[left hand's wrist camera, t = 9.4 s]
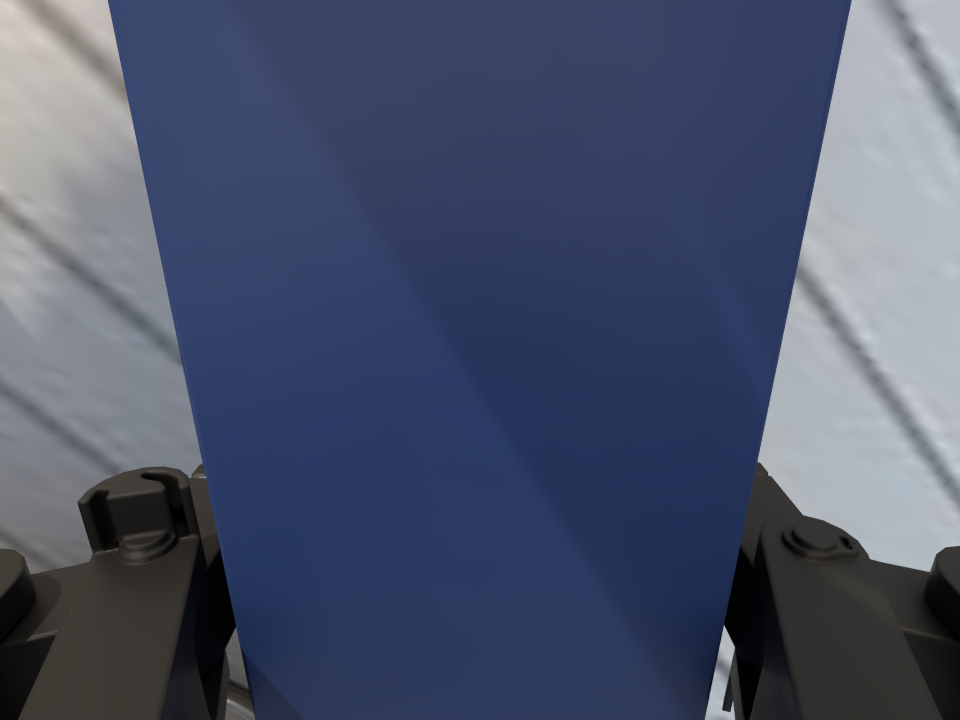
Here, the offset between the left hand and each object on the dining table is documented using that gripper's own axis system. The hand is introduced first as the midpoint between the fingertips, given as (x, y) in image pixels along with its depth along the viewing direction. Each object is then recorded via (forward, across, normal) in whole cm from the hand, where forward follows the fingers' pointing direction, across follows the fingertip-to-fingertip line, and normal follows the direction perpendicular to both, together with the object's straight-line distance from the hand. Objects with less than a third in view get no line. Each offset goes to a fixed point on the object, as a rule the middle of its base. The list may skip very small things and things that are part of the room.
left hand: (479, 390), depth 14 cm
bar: (+1, 0, -12) cm, 12 cm away
